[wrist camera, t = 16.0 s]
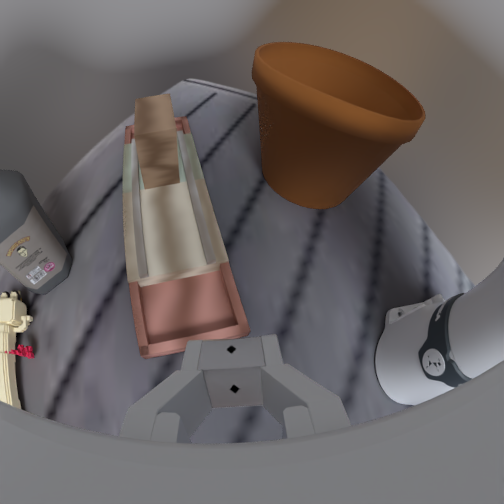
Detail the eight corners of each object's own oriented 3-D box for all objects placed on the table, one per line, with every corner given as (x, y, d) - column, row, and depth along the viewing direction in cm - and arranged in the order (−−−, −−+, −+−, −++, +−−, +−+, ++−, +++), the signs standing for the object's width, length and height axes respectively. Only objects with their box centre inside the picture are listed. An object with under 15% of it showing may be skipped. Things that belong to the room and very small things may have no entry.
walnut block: (172, 141, 48) (169, 93, 39) (179, 183, 43) (176, 128, 34) (142, 147, 47) (135, 99, 37) (144, 189, 41) (134, 135, 32)
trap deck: (186, 125, 57) (186, 110, 53) (248, 335, 35) (252, 327, 32) (127, 135, 53) (124, 121, 50) (145, 359, 31) (137, 353, 28)
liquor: (78, 271, 36) (-20, 104, 10) (38, 303, 32) (-86, 167, 6) (60, 234, 38) (-13, 83, 13) (23, 263, 34) (-69, 131, 9)
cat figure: (56, 451, 22) (40, 291, 32) (24, 462, 14) (9, 269, 24) (12, 441, 20) (0, 294, 30) (-21, 445, 12) (-30, 275, 22)
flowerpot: (313, 259, 43) (384, 140, 23) (208, 158, 51) (216, 47, 31) (388, 193, 54) (441, 112, 34) (301, 124, 63) (325, 43, 43)
